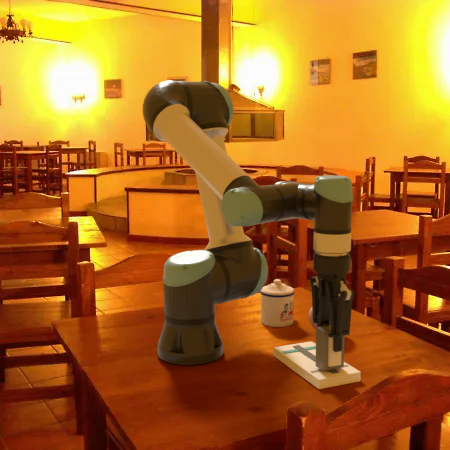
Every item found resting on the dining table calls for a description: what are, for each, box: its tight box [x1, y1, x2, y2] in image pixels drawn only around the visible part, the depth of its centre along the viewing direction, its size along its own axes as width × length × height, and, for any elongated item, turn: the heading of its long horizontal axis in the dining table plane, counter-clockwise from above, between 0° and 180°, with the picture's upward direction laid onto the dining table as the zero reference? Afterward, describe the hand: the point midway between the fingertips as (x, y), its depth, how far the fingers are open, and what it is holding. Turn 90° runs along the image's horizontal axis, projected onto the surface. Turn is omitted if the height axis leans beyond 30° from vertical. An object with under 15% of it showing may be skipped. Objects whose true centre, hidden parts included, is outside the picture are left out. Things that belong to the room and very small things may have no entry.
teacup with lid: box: [259, 278, 295, 328], centre depth 172 cm, size 12×9×12 cm
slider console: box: [273, 341, 362, 390], centre depth 140 cm, size 10×20×2 cm, turn 23°
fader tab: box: [315, 325, 346, 371], centre depth 134 cm, size 5×3×8 cm, turn 113°
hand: (329, 361), depth 134 cm, fingers closed on fader tab, 3 cm apart
